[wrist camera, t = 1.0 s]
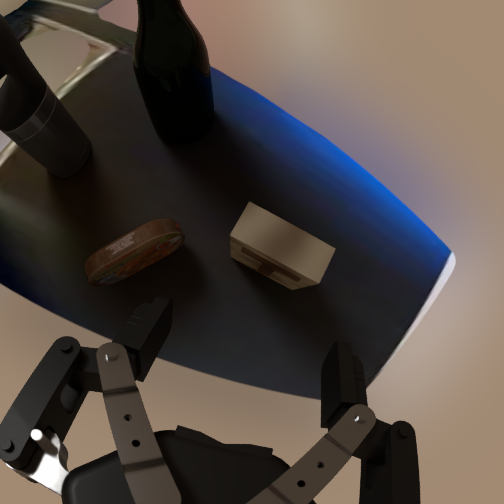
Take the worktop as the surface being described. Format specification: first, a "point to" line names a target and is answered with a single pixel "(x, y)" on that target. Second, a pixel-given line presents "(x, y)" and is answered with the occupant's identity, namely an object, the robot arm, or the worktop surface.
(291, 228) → the birch slab
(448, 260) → the worktop surface
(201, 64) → the dark wine bottle
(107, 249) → the tin
